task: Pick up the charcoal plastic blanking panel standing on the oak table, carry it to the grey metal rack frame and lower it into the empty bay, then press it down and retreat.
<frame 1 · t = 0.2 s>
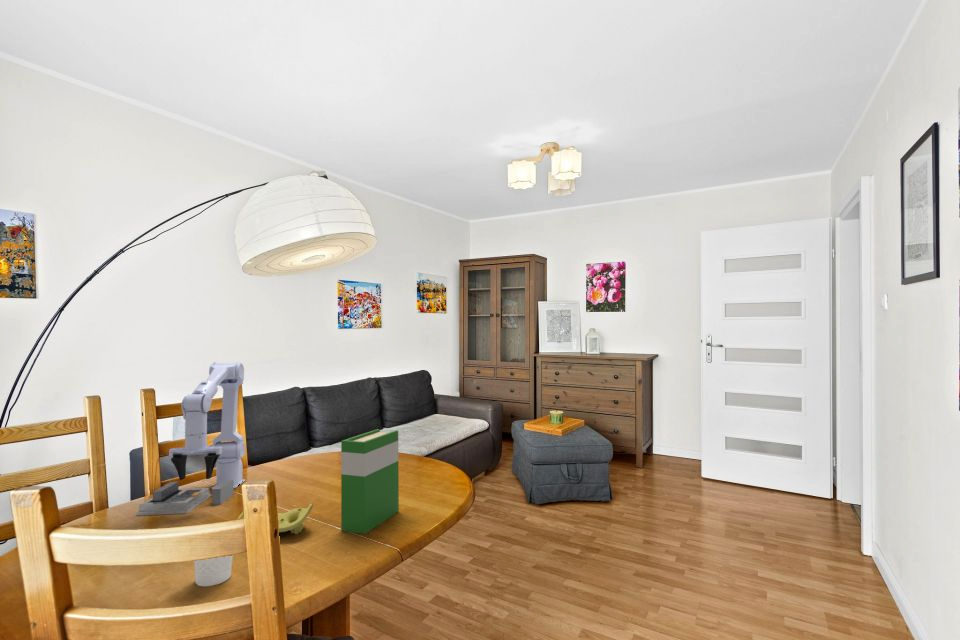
hand: (195, 478, 146), 10 cm above the table, tool pointing down, fingers open, 7 cm apart
panel: (223, 499, 157), on the table
rack: (175, 505, 151), on the table
hardback book: (371, 521, 137), on the table
plastic component: (275, 533, 129), on the table
white cup: (213, 580, 104), on the table
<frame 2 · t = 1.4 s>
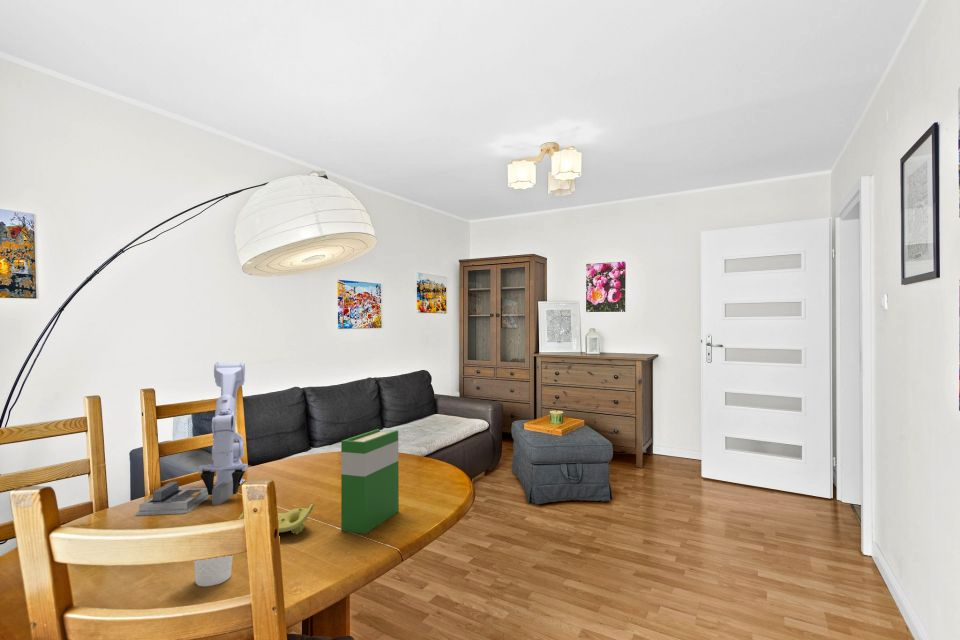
hand: (223, 493, 157), 2 cm above the table, tool pointing down, fingers open, 7 cm apart
nothing on the table moved.
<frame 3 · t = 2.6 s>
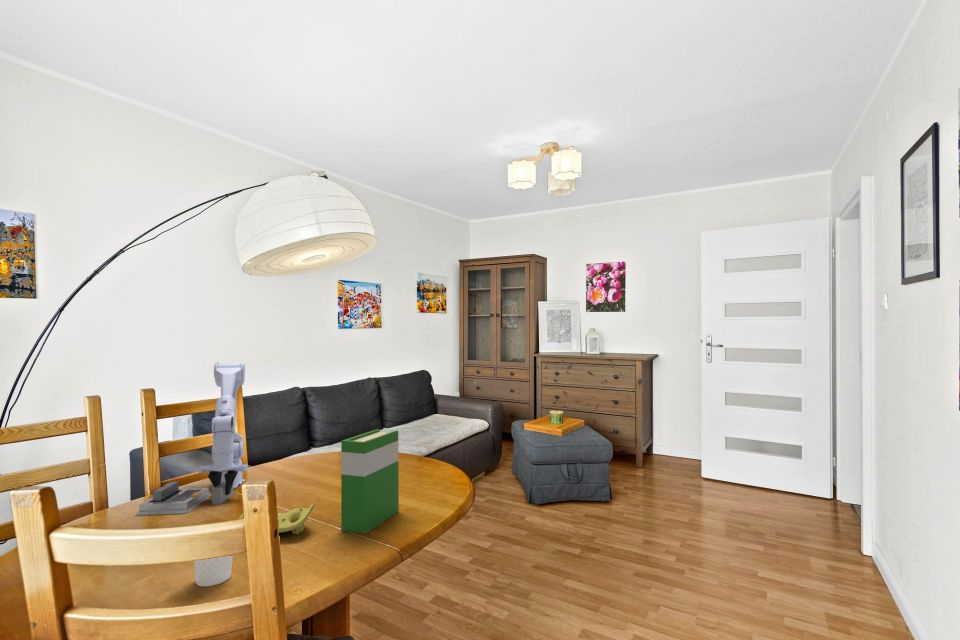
hand: (223, 494, 157), 2 cm above the table, tool pointing down, fingers closed on panel, 2 cm apart
panel: (223, 499, 157), on the table, touching gripper
everything else where it was.
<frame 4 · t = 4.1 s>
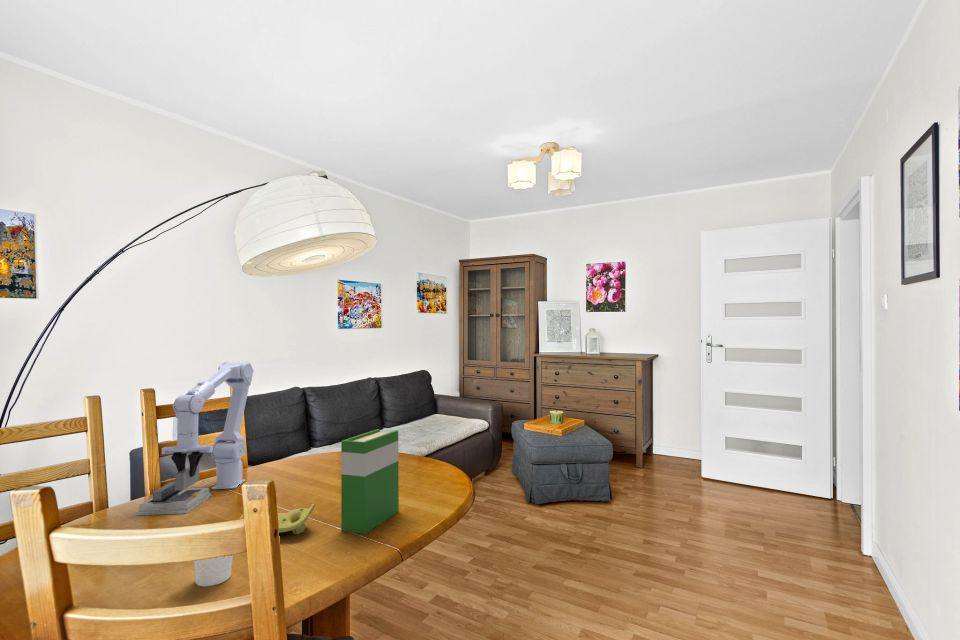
hand: (187, 476, 152), 9 cm above the table, tool pointing down, fingers closed on panel, 2 cm apart
panel: (187, 485, 152), point 6 cm above the table, touching gripper
everything else where it was.
when the fingers open (3 cm above the table, at t = 5.9 s): panel stays where it is, resting on rack.
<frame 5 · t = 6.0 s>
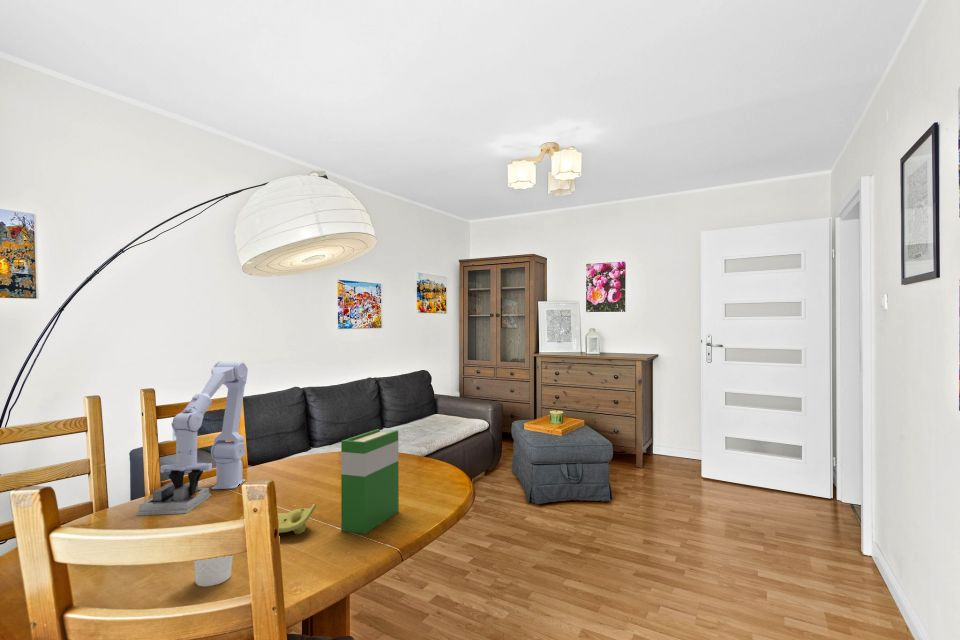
hand: (186, 494, 152), 3 cm above the table, tool pointing down, fingers open, 3 cm apart
panel: (186, 501, 152), point 1 cm above the table, touching rack
everything else where it was.
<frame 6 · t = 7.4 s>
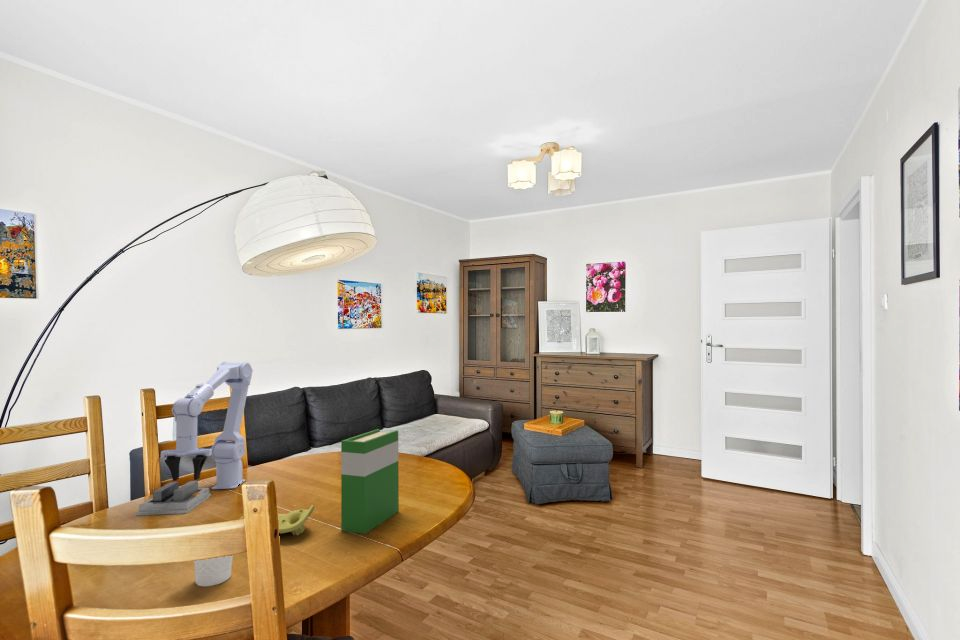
hand: (186, 479, 152), 8 cm above the table, tool pointing down, fingers open, 6 cm apart
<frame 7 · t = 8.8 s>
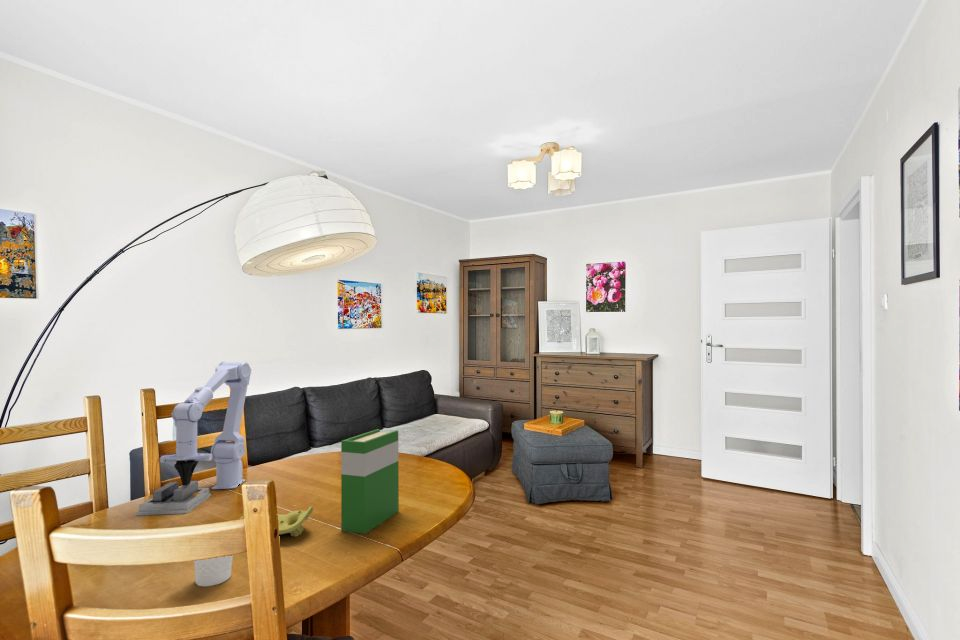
hand: (186, 484, 152), 6 cm above the table, tool pointing down, fingers closed
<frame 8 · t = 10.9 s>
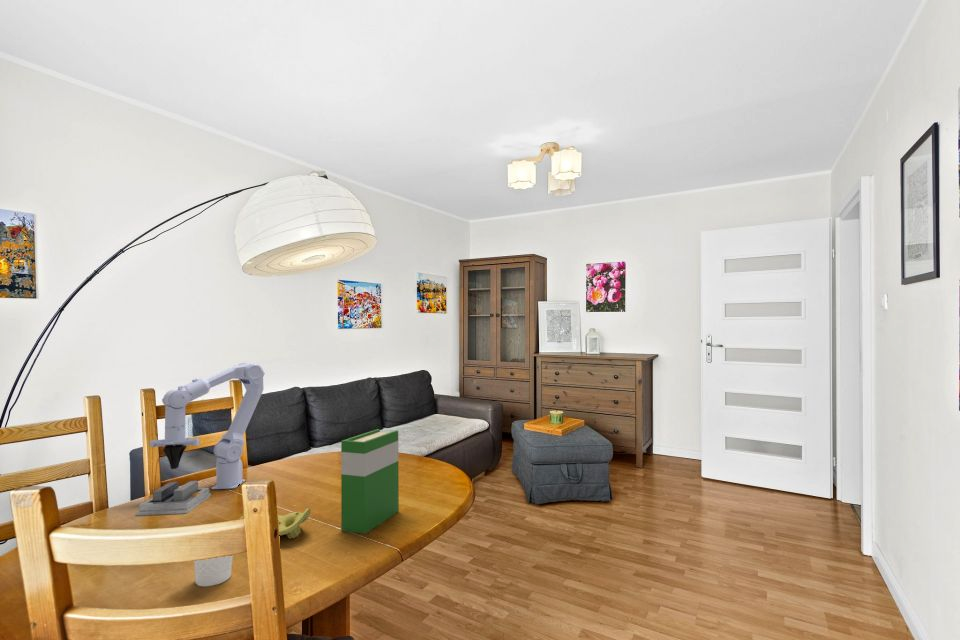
hand: (174, 468, 158), 10 cm above the table, tool pointing down, fingers closed
at the end: panel 0.0 cm from the target spot on the rack, point 1.0 cm above the rack's base; panel tilted 0°; the gripper is holding nothing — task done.
